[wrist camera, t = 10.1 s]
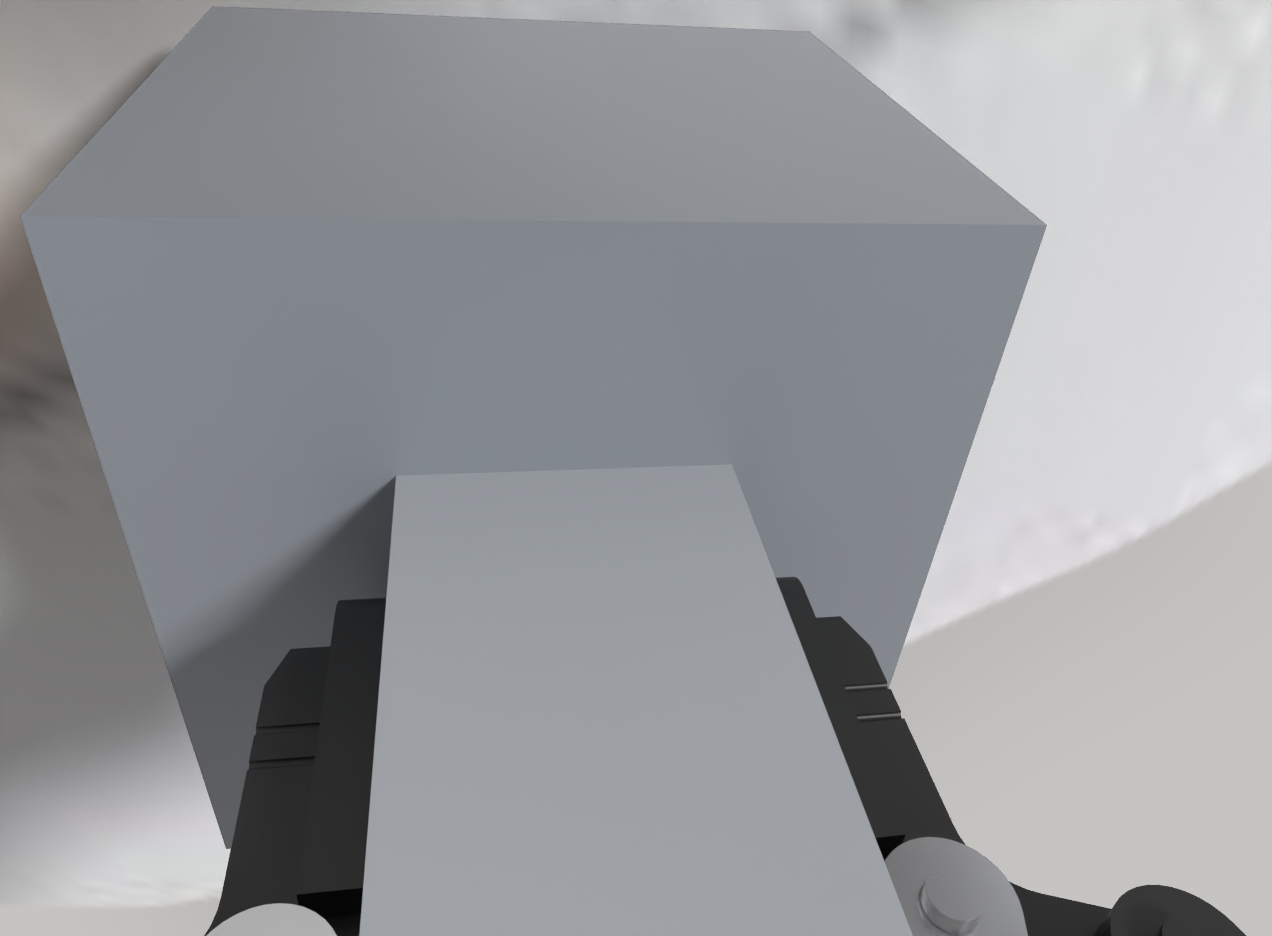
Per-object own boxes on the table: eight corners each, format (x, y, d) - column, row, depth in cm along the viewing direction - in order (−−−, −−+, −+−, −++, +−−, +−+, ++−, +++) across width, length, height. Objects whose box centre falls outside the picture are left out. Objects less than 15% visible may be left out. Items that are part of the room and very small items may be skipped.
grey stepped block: (809, 31, 17) (1543, 629, 6) (735, 479, 23) (1013, 1214, 12) (212, 6, 16) (-496, 777, 4) (299, 495, 22) (118, 1368, 10)
